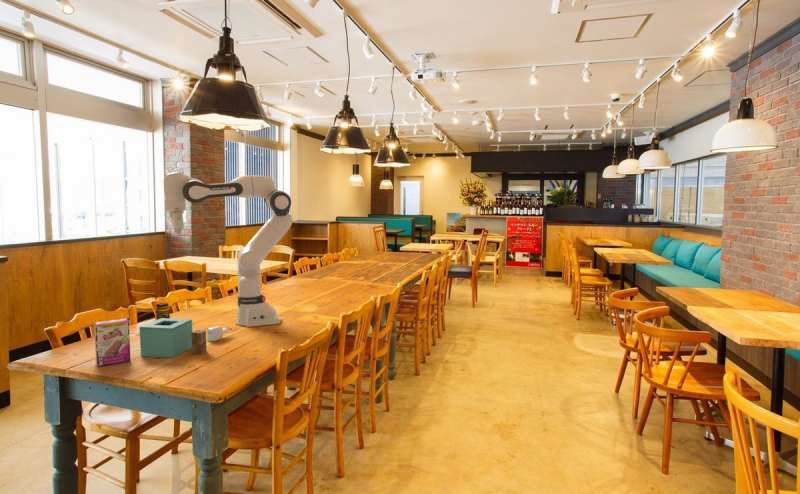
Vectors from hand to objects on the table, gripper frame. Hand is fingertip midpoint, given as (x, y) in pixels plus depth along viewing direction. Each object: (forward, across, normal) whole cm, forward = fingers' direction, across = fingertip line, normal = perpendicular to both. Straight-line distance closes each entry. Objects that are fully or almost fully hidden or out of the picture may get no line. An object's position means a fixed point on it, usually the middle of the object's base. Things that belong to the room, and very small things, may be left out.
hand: (178, 235), depth 222 cm
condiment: (+46, +1, +11) cm, 48 cm away
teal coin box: (+40, -40, +11) cm, 58 cm away
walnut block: (+40, -49, 0) cm, 63 cm away
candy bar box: (+39, -45, +30) cm, 67 cm away
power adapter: (+43, -32, -11) cm, 55 cm away
